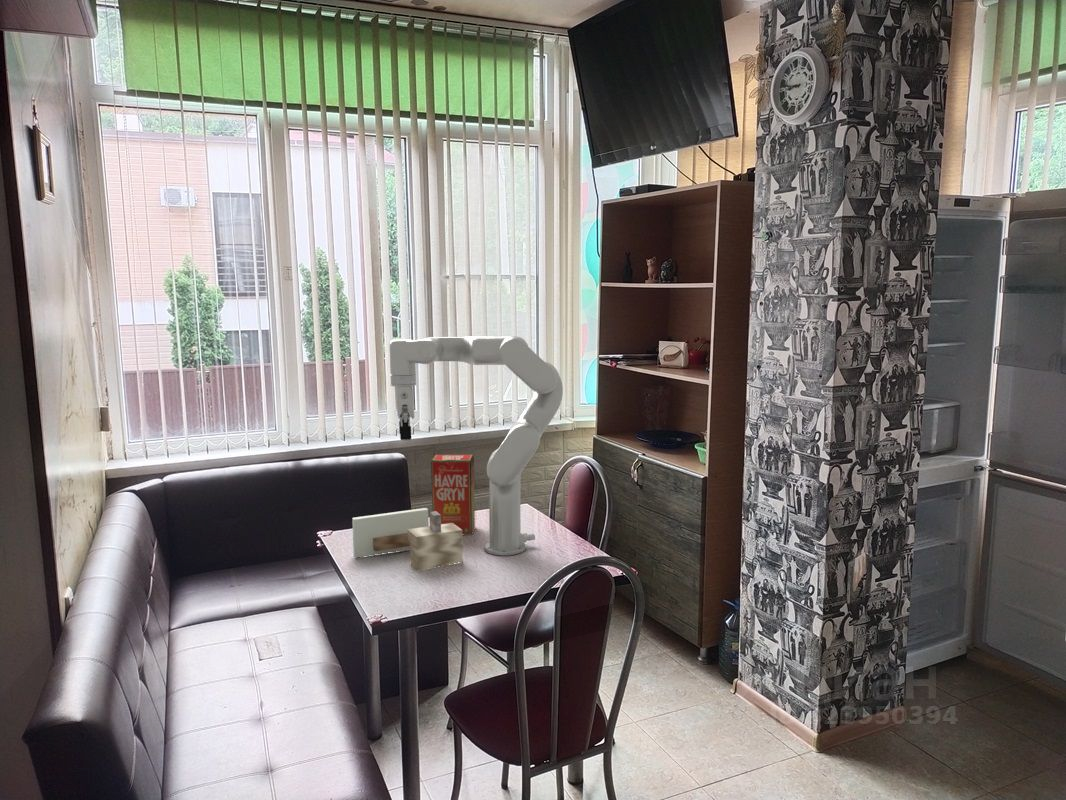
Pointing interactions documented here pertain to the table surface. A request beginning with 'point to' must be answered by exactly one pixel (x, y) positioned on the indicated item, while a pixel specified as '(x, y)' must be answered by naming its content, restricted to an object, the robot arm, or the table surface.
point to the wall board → (385, 529)
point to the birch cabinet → (435, 544)
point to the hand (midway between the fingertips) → (405, 436)
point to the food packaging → (454, 490)
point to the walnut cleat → (390, 542)
